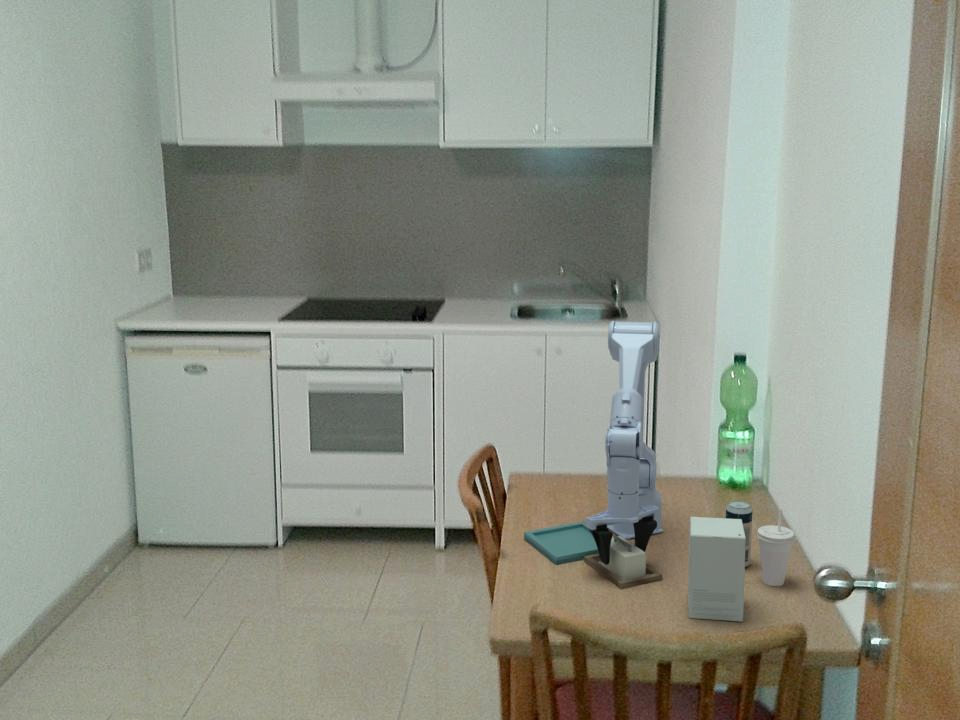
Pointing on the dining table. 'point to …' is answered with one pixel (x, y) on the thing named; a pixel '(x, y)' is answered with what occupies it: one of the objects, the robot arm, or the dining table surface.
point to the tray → (563, 542)
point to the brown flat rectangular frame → (616, 580)
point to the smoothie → (775, 551)
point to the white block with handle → (626, 559)
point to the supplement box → (716, 569)
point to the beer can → (745, 513)
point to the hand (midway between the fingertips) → (622, 558)
